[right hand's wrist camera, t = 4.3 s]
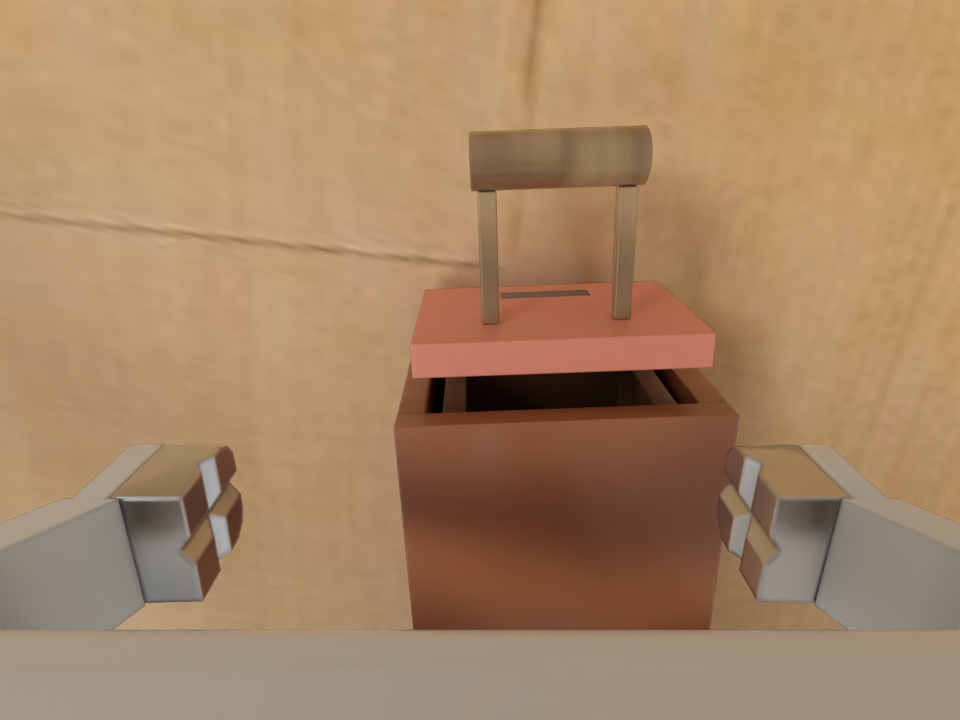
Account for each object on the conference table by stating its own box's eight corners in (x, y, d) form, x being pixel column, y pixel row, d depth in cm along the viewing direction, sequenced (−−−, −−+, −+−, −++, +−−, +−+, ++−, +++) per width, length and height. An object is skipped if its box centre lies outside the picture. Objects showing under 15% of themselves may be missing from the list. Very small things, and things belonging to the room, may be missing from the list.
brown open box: (416, 335, 27) (393, 427, 19) (660, 326, 27) (740, 414, 19) (440, 654, 34) (431, 820, 26) (634, 647, 34) (685, 811, 26)
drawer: (413, 131, 23) (392, 136, 17) (668, 122, 23) (742, 123, 17) (447, 617, 32) (441, 738, 26) (632, 610, 32) (671, 730, 26)
